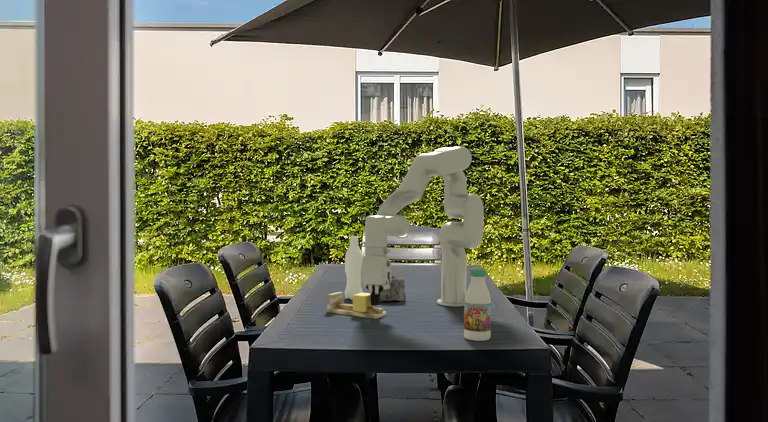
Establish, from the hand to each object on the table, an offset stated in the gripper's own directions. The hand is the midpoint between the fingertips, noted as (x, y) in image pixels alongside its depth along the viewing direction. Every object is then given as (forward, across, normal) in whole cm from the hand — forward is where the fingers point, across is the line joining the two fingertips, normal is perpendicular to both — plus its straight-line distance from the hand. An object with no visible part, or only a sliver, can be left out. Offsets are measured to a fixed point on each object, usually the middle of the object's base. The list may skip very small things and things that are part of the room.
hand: (375, 304), depth 192 cm
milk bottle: (+4, -40, +10) cm, 42 cm away
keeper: (+2, +5, 0) cm, 5 cm away
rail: (+4, +8, 0) cm, 8 cm away
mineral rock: (+4, +10, -27) cm, 29 cm away
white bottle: (+4, +23, -23) cm, 33 cm away
